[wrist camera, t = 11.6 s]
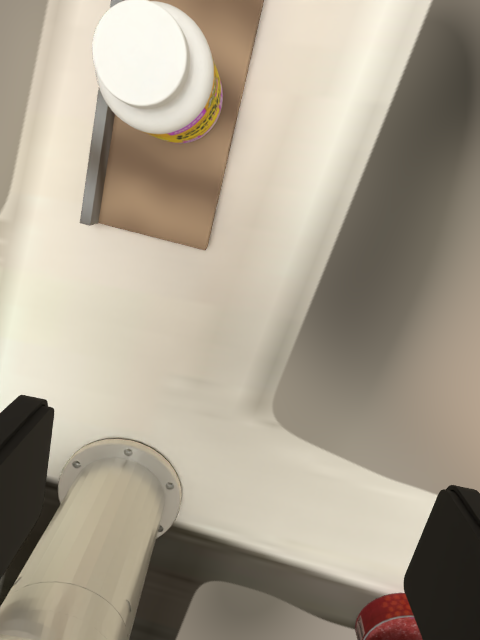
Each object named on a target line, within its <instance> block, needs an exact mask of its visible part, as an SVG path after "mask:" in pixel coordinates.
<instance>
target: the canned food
mask: <svg viewBox="0 0 480 640" xmlns="http://www.w3.org/2000/svg"><path fill="white" fill-rule="evenodd" d="M355 629H356V630H355V632H356V635H357V639H358V640H423V639H422V636H421V634H420V631H419V628H418V626H417V623H416V621H415V618H414V615H413V613H412V610H411V608H410V605H409V602H408V600H407V597H406V595H405V593H394V594H389V595H384V596H382V597H379V598H377V599H375V600H373V601H371V602H370V603H368V604H367V605H366V606H365V607H364V608H363V609H362V610H361V612H360V613H359V615H358V617H357V619H356V625H355Z"/></svg>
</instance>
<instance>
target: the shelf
mask: <svg viewBox="0 0 480 640" xmlns="http://www.w3.org/2000/svg"><path fill="white" fill-rule="evenodd" d="M122 1H125V0H111V5H110V8H111V7H113V6H114V5H116V4H118V3H119V2H122ZM148 1H157V2H163V3H167V4H170V5H172V6H174V7H176V8H178V9H180V10H181V11H183V12H184V13H185V14H187V15H188V16H189V17H190V18H191V19H192V20H193V21H194V22H195V23H196V24H197V26H198V27H199V28H200V30H201V31H202V33H203V34H204V36H205V38H206V40H207V43H208V45H209V48H210V51H211V54H212V57H213V60H214V63H215V65H216V68H217V71H218V74H219V77H220V81H221V85H222V92H223V101H222V108H221V111H220V115H219V117H218V119H217V121H216V123H215V125H214V126H213V127H212V129H211V130H210V131H209V132H208V133H207V134H206V135H204V136H203V137H201V138H200V139H198V140H196V141H193V142H189V143H182V144H177V143H171V142H167V141H164V140H161V139H159V138H156V137H154V136H151V135H149V134H147V133H144V132H142V131H139V130H137V129H135V128H133V127H131V126H130V125H128V124H127V123H125V122H124V121H122V120H121V119H120V118H119V117H118V116H117V115H116V114H115V113H114V112H113V111H112V110H111V109H110V107H109V106H108V104H107V103H106V101H105V100H104V98H103V96H102V93H101V91H100V88H99V90H98V97H97V105H96V112H95V119H94V126H93V133H92V140H91V147H90V154H89V162H88V169H87V176H86V183H85V190H84V197H83V204H82V211H81V219H80V223H82V224H86V225H93V224H97V223H101V224H104V225H108V226H112V227H116V228H120V229H124V230H128V231H132V232H136V233H140V234H144V235H147V236H151V237H155V238H159V239H163V240H167V241H171V242H175V243H179V244H183V245H187V246H191V247H194V248H198V249H202V250H206V248H207V246H208V242H209V238H210V233H211V229H212V225H213V220H214V216H215V211H216V207H217V203H218V198H219V194H220V190H221V185H222V181H223V177H224V172H225V168H226V164H227V159H228V155H229V150H230V146H231V142H232V137H233V133H234V129H235V124H236V120H237V116H238V111H239V107H240V103H241V98H242V94H243V89H244V85H245V81H246V76H247V72H248V68H249V63H250V59H251V55H252V50H253V46H254V42H255V37H256V33H257V28H258V24H259V20H260V15H261V11H262V7H263V2H264V0H148Z"/></svg>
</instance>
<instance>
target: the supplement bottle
mask: <svg viewBox="0 0 480 640" xmlns="http://www.w3.org/2000/svg"><path fill="white" fill-rule="evenodd" d="M92 55H93V62H94V66H95V71H96V77H97V82H98V85H99V88H100V91H101V93H102V96H103V98H104V100H105V101H106V103H107V104H108V106H109V107H110V109H111V110H112V111H113V112H114V113H115V114H116V115H117V116H118V117H119V118H120V119H121V120H122V121H124V122H125V123H127V124H128V125H130V126H131V127H133V128H135V129H137V130H139V131H142V132H144V133H147V134H149V135H151V136H154V137H156V138H159V139H161V140H164V141H167V142H171V143H177V144H182V143H189V142H193V141H196V140H198V139H200V138H201V137H203V136H204V135H206V134H207V133H208V132H209V131H210V130H211V129H212V127H213V126H214V125H215V123H216V121H217V119H218V117H219V115H220V111H221V108H222V101H223V92H222V85H221V81H220V77H219V74H218V71H217V68H216V65H215V63H214V60H213V57H212V54H211V51H210V48H209V45H208V43H207V40H206V38H205V36H204V34H203V33H202V31H201V30H200V28H199V27H198V26H197V24H196V23H195V22H194V21H193V20H192V19H191V18H190V17H189V16H188V15H187V14H185V13H184V12H183V11H181V10H180V9H178V8H176V7H174V6H172V5H170V4H167V3H163V2H157V1H148V0H125V1H122V2H119V3H118V4H116V5H114V6H113V7H111V8H110V9H109V10H108V11H107V12H106V13H105V14H104V16H103V17H102V18H101V19H100V21H99V23H98V25H97V27H96V30H95V33H94V37H93V44H92Z"/></svg>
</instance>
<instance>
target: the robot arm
mask: <svg viewBox="0 0 480 640" xmlns="http://www.w3.org/2000/svg"><path fill="white" fill-rule="evenodd" d="M53 420H54V409H53V408H52V407H48V403H47V401H46V400H44V399H40V398H35V397H30V396H25V395H20V396H18V397H17V398H16V399H15V400H14V401H13V402H12V403H11V404H10V405H9V406H7V407H6V408H5V409H4V410H3V411H2V412H1V413H0V579H1V577H2V576H3V574H4V573H5V571H6V569H7V568H8V566H9V565H10V563H11V561H12V560H13V558H14V557H15V555H16V553H17V552H18V550H19V549H20V547H21V545H22V544H23V542H24V541H25V539H26V538H27V536H28V534H29V533H30V531H31V530H32V528H33V526H34V525H35V523H36V522H37V520H38V518H39V516H40V513H41V510H42V507H43V501H44V493H45V485H46V477H47V469H48V460H49V452H50V444H51V436H52V428H53ZM58 496H59V500H60V506H59V508H58V510H57V511H56V513H55V515H54V516H53V518H52V520H51V522H50V523H49V525H48V527H47V528H46V530H45V532H44V534H43V535H42V537H41V539H40V540H39V542H38V544H37V545H36V547H35V549H34V551H33V552H32V554H31V556H30V557H29V559H28V561H27V563H26V564H25V566H24V568H23V569H22V571H21V573H20V575H19V576H18V578H17V580H16V581H15V583H14V585H13V586H12V588H11V590H10V592H9V593H8V595H7V597H6V598H5V600H4V602H3V604H2V605H1V607H0V640H129V637H130V633H131V630H132V626H133V622H134V618H135V615H136V611H137V607H138V604H139V600H140V596H141V592H142V589H143V585H144V581H145V578H146V574H147V570H148V566H149V563H150V559H151V555H152V552H153V548H154V544H155V540H156V538H158V537H159V536H161V535H163V534H164V533H165V532H166V531H167V530H168V529H169V528H170V527H171V526H172V524H173V523H174V521H175V520H176V517H177V515H178V512H179V509H180V504H181V486H180V481H179V479H178V477H177V474H176V472H175V470H174V469H173V468H172V466H171V465H170V463H169V462H168V461H167V460H166V459H165V458H164V457H163V456H162V455H161V454H159V453H158V452H156V451H155V450H153V449H152V448H150V447H148V446H145V445H143V444H141V443H138V442H134V441H131V440H124V439H105V440H101V441H96V442H93V443H91V444H89V445H86V446H84V447H83V448H81V449H80V450H79V451H77V452H76V453H75V454H74V455H73V456H72V457H71V458H70V459H69V461H68V462H67V464H66V465H65V467H64V468H63V470H62V473H61V475H60V478H59V484H58ZM404 591H405V595H406V597H407V600H408V602H409V605H410V608H411V610H412V613H413V615H414V618H415V621H416V623H417V626H418V628H419V631H420V634H421V636H422V639H423V640H480V493H479V492H478V491H477V490H474V489H469V488H464V487H460V486H455V485H451V486H449V487H448V488H447V489H446V490H441V491H440V493H439V494H438V496H437V499H436V501H435V504H434V506H433V509H432V511H431V513H430V516H429V518H428V521H427V523H426V525H425V528H424V530H423V533H422V535H421V538H420V540H419V542H418V545H417V547H416V550H415V552H414V555H413V557H412V559H411V562H410V564H409V567H408V569H407V572H406V574H405V577H404Z"/></svg>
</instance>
